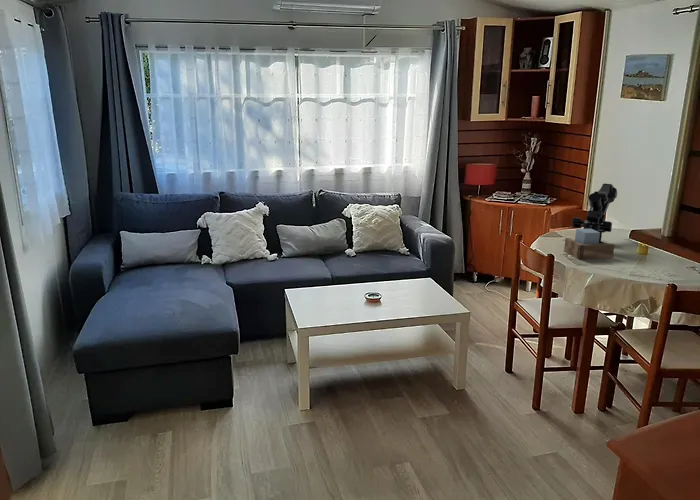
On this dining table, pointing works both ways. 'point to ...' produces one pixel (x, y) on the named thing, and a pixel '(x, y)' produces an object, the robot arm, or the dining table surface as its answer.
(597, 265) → the dining table surface
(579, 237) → the slate block
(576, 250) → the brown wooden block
